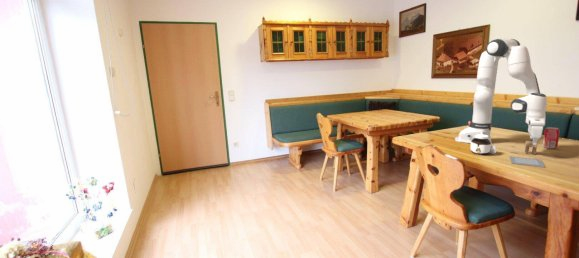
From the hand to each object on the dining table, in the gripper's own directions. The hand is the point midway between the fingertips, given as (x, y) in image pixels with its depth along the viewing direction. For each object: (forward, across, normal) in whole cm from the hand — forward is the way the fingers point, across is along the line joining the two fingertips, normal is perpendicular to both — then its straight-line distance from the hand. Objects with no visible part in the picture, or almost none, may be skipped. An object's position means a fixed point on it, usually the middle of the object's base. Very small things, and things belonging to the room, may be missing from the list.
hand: (533, 142), depth 171 cm
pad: (+7, +20, -5) cm, 21 cm away
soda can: (+8, -20, +11) cm, 24 cm away
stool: (+7, 0, -1) cm, 7 cm away
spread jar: (+7, +10, -25) cm, 28 cm away
